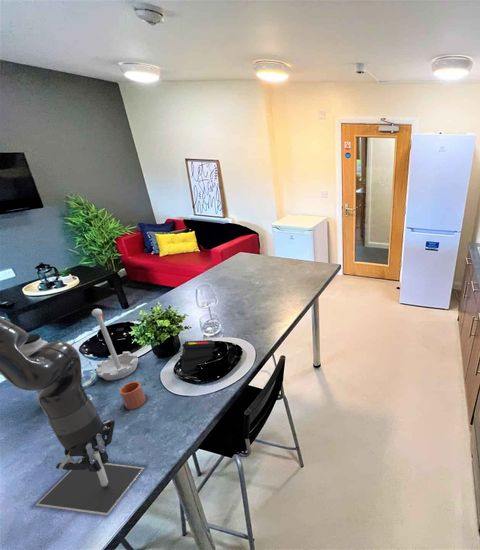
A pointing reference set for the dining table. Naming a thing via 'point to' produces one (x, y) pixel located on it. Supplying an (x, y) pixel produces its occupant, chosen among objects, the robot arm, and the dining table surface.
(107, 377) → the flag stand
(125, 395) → the pen cup
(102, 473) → the stylus
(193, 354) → the striped top black block
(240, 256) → the dining table surface
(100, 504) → the tablet
